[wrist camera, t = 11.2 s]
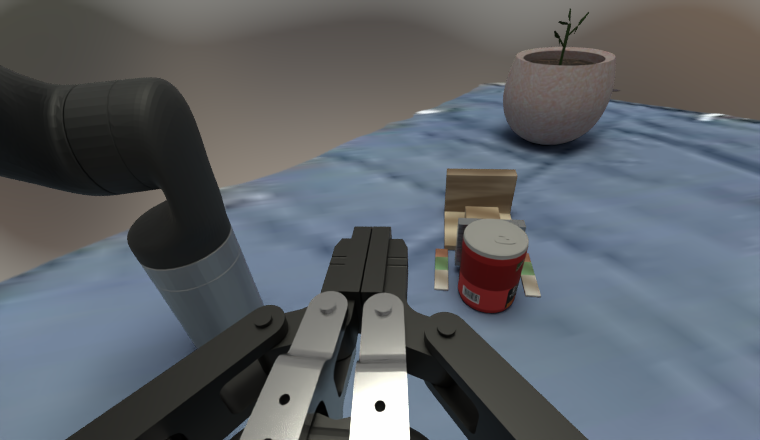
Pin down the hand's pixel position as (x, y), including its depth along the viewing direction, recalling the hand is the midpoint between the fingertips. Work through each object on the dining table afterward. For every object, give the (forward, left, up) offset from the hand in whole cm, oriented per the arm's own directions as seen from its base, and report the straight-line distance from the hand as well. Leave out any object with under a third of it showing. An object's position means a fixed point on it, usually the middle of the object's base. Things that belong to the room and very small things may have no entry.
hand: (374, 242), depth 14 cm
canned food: (+4, +26, -30) cm, 40 cm away
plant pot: (+9, +86, -30) cm, 91 cm away
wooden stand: (+1, +37, -30) cm, 47 cm away
